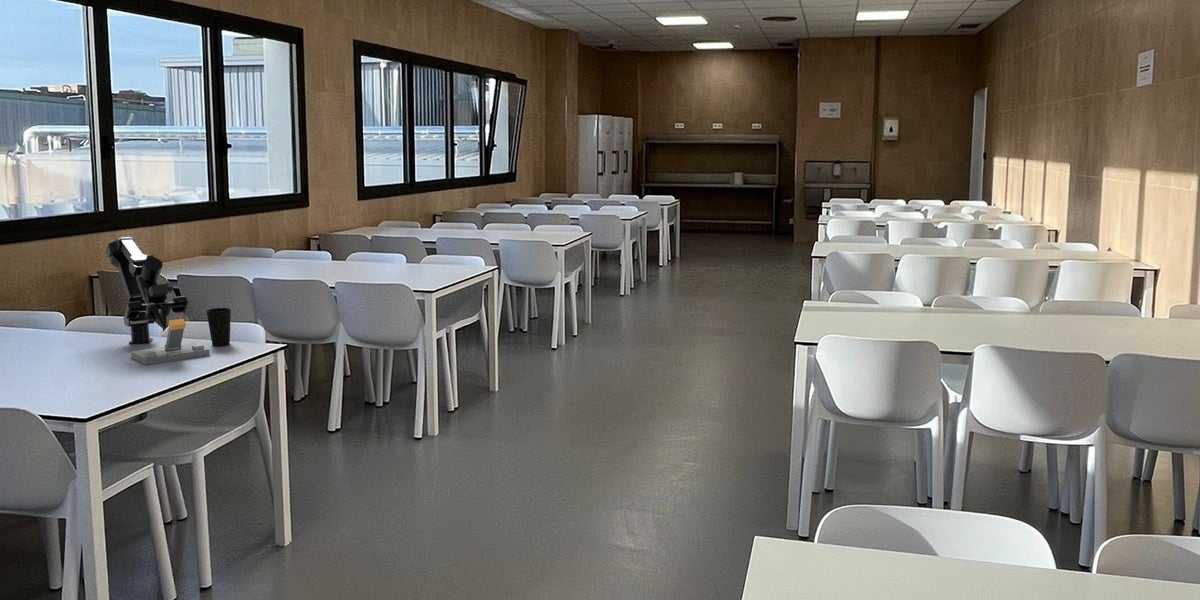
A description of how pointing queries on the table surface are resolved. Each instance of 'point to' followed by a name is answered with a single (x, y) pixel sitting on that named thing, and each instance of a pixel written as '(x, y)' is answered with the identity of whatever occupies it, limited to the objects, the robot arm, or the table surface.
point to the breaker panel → (169, 354)
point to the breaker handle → (175, 335)
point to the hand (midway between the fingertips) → (164, 327)
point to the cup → (219, 326)
